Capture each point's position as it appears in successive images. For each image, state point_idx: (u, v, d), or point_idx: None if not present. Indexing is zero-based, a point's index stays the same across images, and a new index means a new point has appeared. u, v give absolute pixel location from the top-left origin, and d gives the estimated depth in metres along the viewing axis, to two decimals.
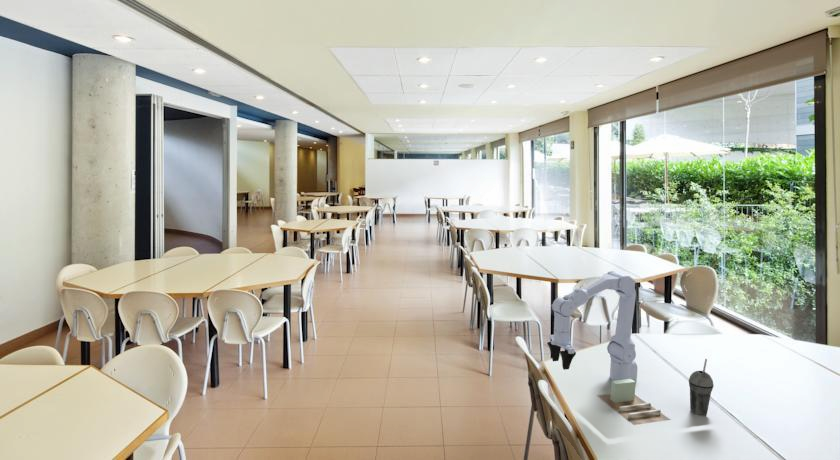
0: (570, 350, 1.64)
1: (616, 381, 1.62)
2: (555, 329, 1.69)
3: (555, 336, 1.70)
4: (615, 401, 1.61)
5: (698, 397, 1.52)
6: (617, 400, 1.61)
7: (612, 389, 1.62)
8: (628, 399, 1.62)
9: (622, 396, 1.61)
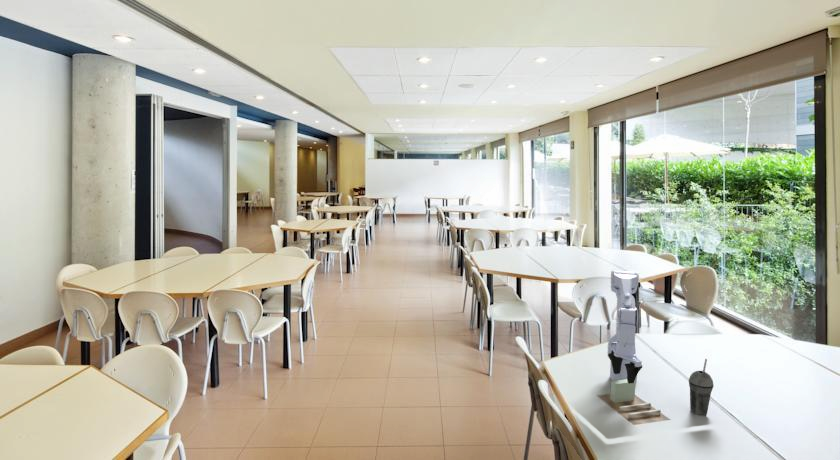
0: (637, 363, 1.54)
1: (616, 381, 1.62)
2: (626, 342, 1.58)
3: (619, 348, 1.60)
4: (615, 401, 1.61)
5: (698, 397, 1.52)
6: (617, 400, 1.61)
7: (612, 389, 1.62)
8: (628, 399, 1.62)
9: (622, 396, 1.61)
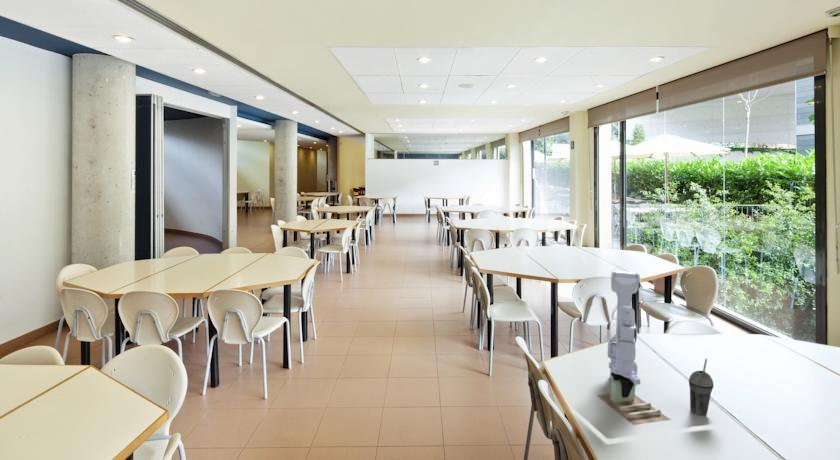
0: (636, 381, 1.55)
1: (616, 381, 1.62)
2: (625, 360, 1.59)
3: (618, 365, 1.61)
4: (615, 401, 1.61)
5: (698, 397, 1.52)
6: (617, 400, 1.61)
7: (612, 389, 1.62)
8: (628, 399, 1.62)
9: None
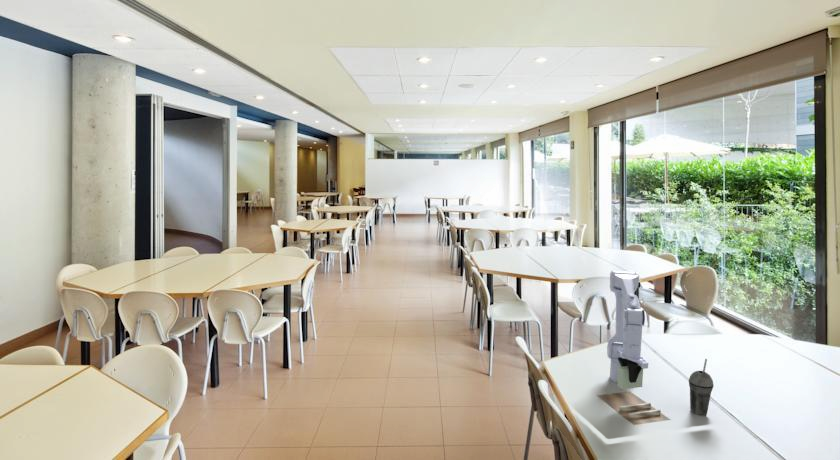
0: (644, 365, 1.51)
1: (623, 367, 1.58)
2: (633, 343, 1.54)
3: (625, 349, 1.56)
4: (622, 387, 1.57)
5: (698, 397, 1.52)
6: (624, 386, 1.57)
7: (619, 375, 1.58)
8: (636, 386, 1.58)
9: (629, 383, 1.57)
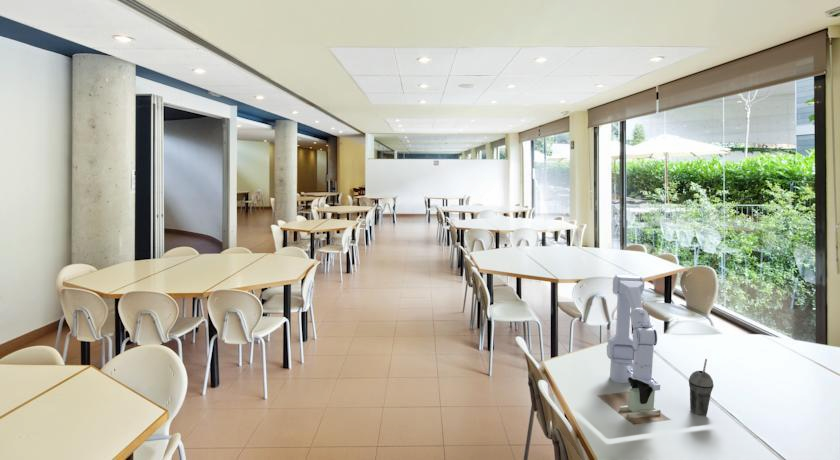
0: (656, 386, 1.46)
1: (634, 389, 1.53)
2: (646, 364, 1.49)
3: (636, 369, 1.52)
4: (633, 410, 1.52)
5: (698, 397, 1.52)
6: (635, 409, 1.52)
7: (630, 397, 1.53)
8: (647, 408, 1.53)
9: (640, 405, 1.53)
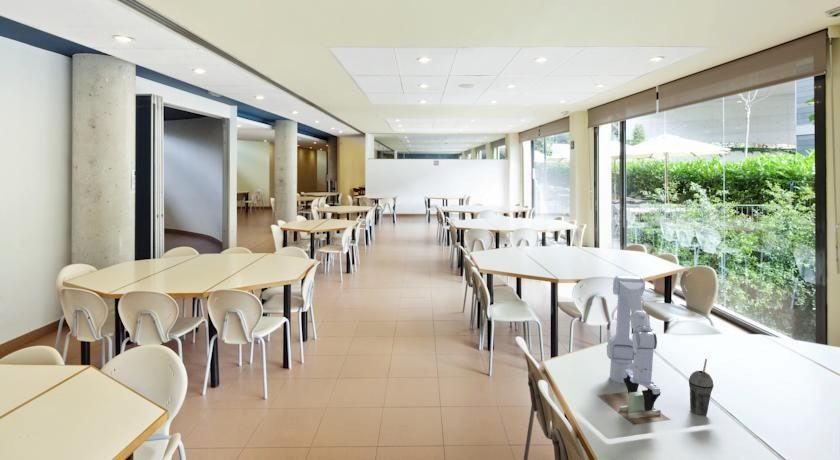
0: (655, 390, 1.46)
1: (634, 393, 1.54)
2: (645, 368, 1.50)
3: (635, 373, 1.52)
4: None
5: (698, 397, 1.52)
6: None
7: (630, 401, 1.53)
8: None
9: (640, 409, 1.53)
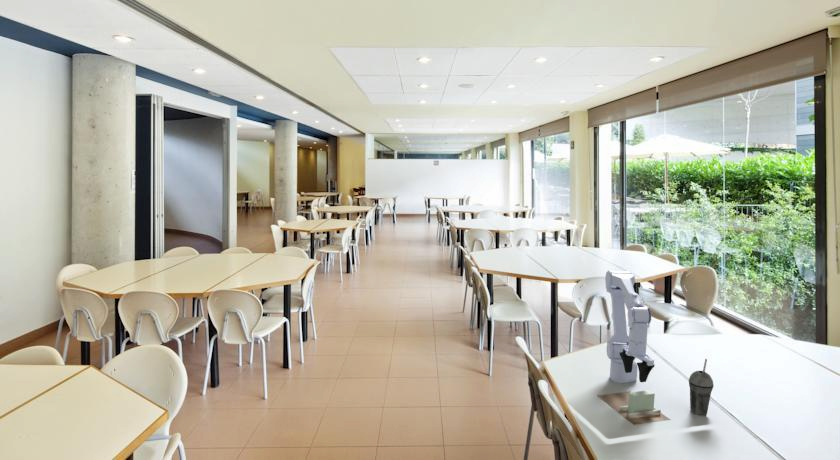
0: (650, 362, 1.54)
1: (634, 393, 1.54)
2: (640, 341, 1.57)
3: (631, 346, 1.60)
4: None
5: (698, 397, 1.52)
6: None
7: (630, 401, 1.53)
8: None
9: (640, 409, 1.53)
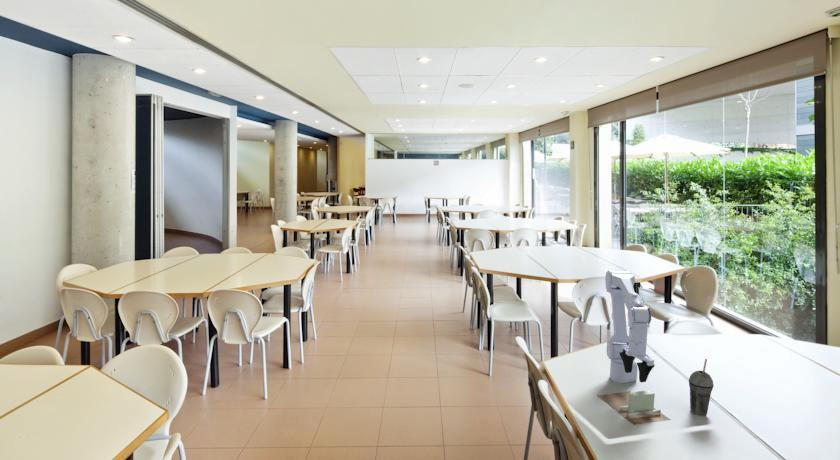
0: (650, 362, 1.54)
1: (634, 393, 1.54)
2: (640, 341, 1.57)
3: (631, 346, 1.60)
4: None
5: (698, 397, 1.52)
6: None
7: (630, 401, 1.53)
8: None
9: (640, 409, 1.53)
